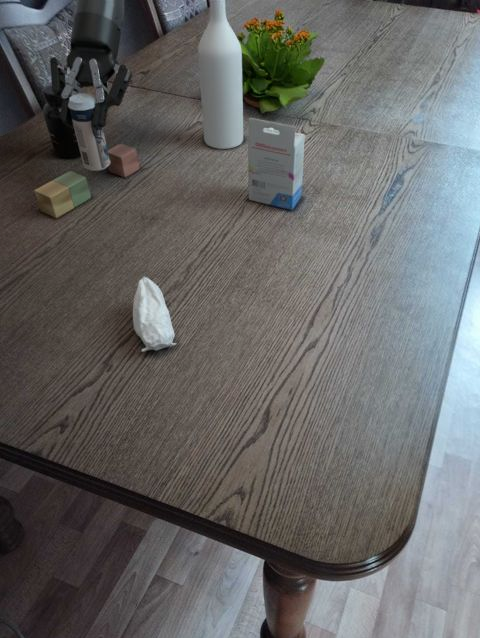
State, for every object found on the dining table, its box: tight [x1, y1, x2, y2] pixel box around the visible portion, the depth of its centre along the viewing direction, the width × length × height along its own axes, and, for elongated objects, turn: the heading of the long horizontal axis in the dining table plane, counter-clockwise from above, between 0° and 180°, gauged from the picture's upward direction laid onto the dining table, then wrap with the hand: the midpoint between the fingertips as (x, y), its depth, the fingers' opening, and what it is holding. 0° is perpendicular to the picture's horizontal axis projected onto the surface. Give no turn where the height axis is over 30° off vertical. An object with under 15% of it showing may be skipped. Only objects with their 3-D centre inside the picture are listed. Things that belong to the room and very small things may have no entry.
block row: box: [33, 143, 140, 219], centre depth 98 cm, size 4×20×4 cm, turn 146°
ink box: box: [247, 117, 306, 211], centre depth 92 cm, size 8×5×15 cm, turn 66°
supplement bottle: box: [42, 84, 81, 159], centre depth 105 cm, size 7×7×12 cm
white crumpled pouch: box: [132, 275, 177, 353], centre depth 73 cm, size 5×7×10 cm
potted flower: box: [236, 9, 326, 115], centre depth 121 cm, size 25×24×18 cm
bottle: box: [197, 0, 244, 150], centre depth 102 cm, size 8×8×30 cm
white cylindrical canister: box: [68, 92, 110, 172], centre depth 94 cm, size 5×5×12 cm
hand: (82, 126), depth 91 cm, fingers closed on white cylindrical canister, 5 cm apart
